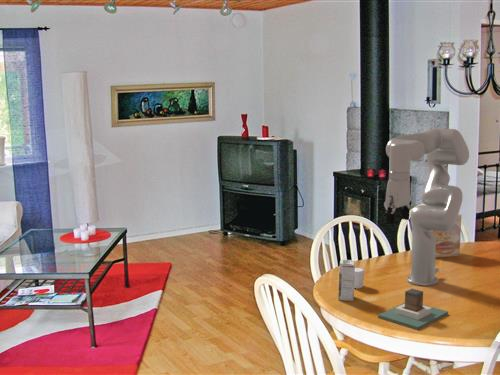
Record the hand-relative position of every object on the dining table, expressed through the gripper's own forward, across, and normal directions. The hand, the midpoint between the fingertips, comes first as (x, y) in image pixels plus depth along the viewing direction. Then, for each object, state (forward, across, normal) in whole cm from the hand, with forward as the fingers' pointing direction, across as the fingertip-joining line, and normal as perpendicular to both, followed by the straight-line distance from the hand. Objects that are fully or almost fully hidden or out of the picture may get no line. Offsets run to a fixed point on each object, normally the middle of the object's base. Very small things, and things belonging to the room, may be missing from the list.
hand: (397, 221), depth 249 cm
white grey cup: (+31, -2, -20) cm, 37 cm away
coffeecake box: (+31, -66, -18) cm, 75 cm away
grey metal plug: (+29, +10, +14) cm, 34 cm away
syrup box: (+31, +12, -14) cm, 36 cm away
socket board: (+30, +10, +14) cm, 35 cm away
